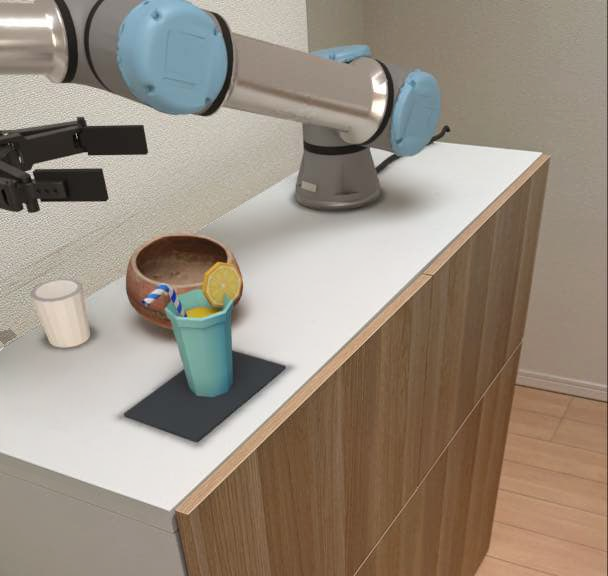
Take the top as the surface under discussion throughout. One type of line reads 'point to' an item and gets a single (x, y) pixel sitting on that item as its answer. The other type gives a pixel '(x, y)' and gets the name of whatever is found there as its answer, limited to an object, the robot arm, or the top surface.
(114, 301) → the top surface
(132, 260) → the bowl
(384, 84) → the robot arm
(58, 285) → the shot glass
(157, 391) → the placemat
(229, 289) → the cup
